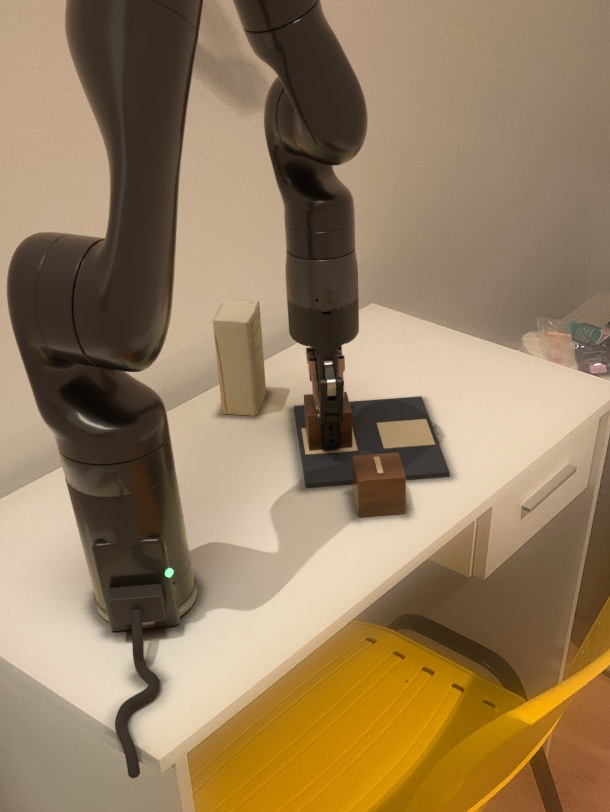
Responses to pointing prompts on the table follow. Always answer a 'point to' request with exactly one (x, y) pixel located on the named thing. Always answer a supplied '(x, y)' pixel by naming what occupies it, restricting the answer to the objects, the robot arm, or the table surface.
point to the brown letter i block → (379, 484)
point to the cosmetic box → (240, 356)
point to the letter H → (314, 424)
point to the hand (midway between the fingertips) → (328, 435)
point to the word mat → (376, 442)
